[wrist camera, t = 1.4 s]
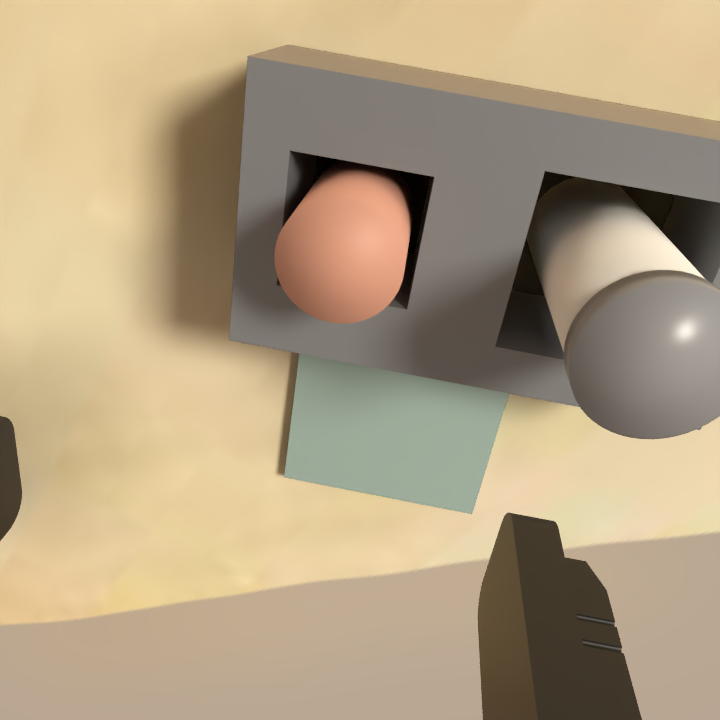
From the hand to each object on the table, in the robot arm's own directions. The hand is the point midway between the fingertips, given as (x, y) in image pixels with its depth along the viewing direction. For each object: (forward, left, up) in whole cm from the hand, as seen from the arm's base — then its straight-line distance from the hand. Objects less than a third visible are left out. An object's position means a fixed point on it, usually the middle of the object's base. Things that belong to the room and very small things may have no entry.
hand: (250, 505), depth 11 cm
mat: (+3, -11, -20) cm, 23 cm away
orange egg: (0, 0, -17) cm, 17 cm away
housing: (+5, 0, -20) cm, 21 cm away
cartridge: (+9, 0, -20) cm, 22 cm away
